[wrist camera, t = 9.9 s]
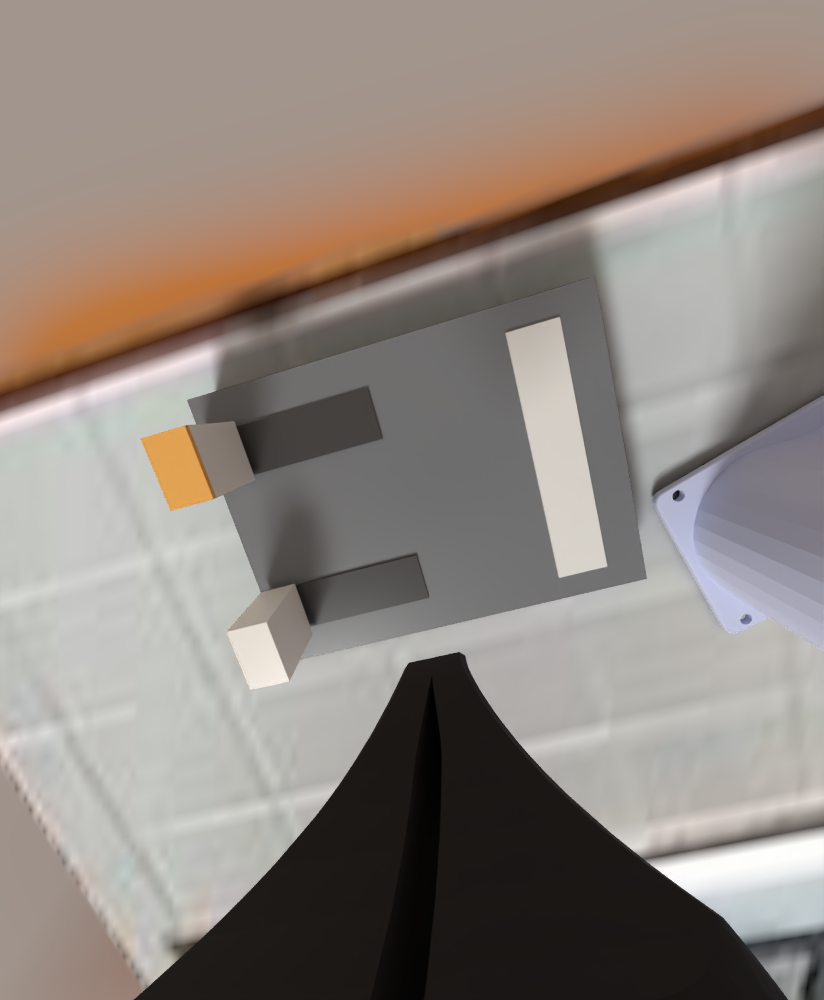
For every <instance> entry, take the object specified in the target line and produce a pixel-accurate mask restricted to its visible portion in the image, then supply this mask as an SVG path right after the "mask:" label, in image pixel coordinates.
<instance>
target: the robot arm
mask: <svg viewBox="0 0 824 1000" xmlns="http://www.w3.org/2000/svg"><path fill="white" fill-rule="evenodd" d="M677 490H679V493H680V494H679V497H678V498H677V499H674V500H673V497H672V496H673V493H674V492H675V491H677ZM652 503H653V506H654V508H655V510H656V512H657V514H658V515H659V517H660V519H661V521H662V522H663V524H664V526H665V528H666V530H667V531H668V533H669V535H670V537H671V538H672V540H673V542H674V544H675V546H676V547H677V549H678V551H679V553H680V554H681V556H682V558H683V560H684V562H685V563H686V565H687V567H688V569H689V570H690V572H691V574H692V576H693V578H694V579H695V581H696V583H697V585H698V587H699V588H700V590H701V592H702V594H703V595H704V597H705V599H706V601H707V603H708V604H709V606H710V608H711V610H712V611H713V613H714V615H715V617H716V619H717V620H718V622H719V624H720V626H721V627H722V628H723V629H724V630H726V631H727V632H729V633H731V634H736V633H739V632H741V631H743V630H745V629H747V628H749V627H751V626H753V625H755V624H757V623H759V622H761V621H763V620H765V619H767V618H770V619H772V620H773V621H775V622H776V623H778V624H780V625H781V626H783V627H784V628H786V629H788V630H789V631H791V632H792V633H794V634H796V635H797V636H799V637H800V638H802V639H804V640H805V641H807V642H808V643H810V644H812V645H813V646H815V647H816V648H818V649H819V650H821V651H823V652H824V395H823V396H821V397H819V398H817V399H816V400H814V401H812V402H811V403H809V404H807V405H805V406H804V407H802V408H800V409H799V410H797V411H795V412H793V413H792V414H790V415H788V416H787V417H785V418H783V419H781V420H780V421H778V422H776V423H774V424H773V425H771V426H769V427H768V428H766V429H764V430H762V431H761V432H759V433H757V434H756V435H754V436H752V437H750V438H749V439H747V440H745V441H744V442H742V443H740V444H738V445H737V446H735V447H733V448H732V449H730V450H728V451H726V452H725V453H723V454H721V455H720V456H718V457H716V458H714V459H713V460H711V461H709V462H708V463H706V464H704V465H702V466H701V467H699V468H697V469H695V470H694V471H692V472H690V473H689V474H687V475H685V476H683V477H682V478H680V479H678V480H677V481H675V482H673V483H671V484H670V485H668V486H666V487H665V488H663V489H661V490H659V491H658V492H657V493H656V494H655V495H654V497H653V500H652ZM745 614H746V616H745V618H744V619H742V620H740V619H741V617H742V616H743V615H745ZM134 1000H788V999H787V997H786V996H785V995H784V993H783V992H782V991H781V989H780V988H779V987H778V985H777V984H776V983H775V982H774V980H773V979H772V978H771V976H770V975H769V974H768V972H767V971H766V970H765V969H764V967H763V966H762V965H761V963H760V962H759V961H758V960H757V958H756V957H755V956H754V955H753V953H752V952H751V951H750V950H749V948H748V947H747V946H746V945H745V944H744V942H743V941H742V940H741V939H740V937H739V936H738V935H737V934H736V933H735V931H734V930H733V929H732V928H731V927H730V925H729V924H728V923H727V922H726V921H725V919H724V918H723V917H721V916H720V915H719V914H717V913H716V912H715V911H713V910H712V909H710V908H709V907H707V906H706V905H705V904H703V903H702V902H700V901H699V900H698V899H696V898H695V897H693V896H692V895H691V894H689V893H688V892H686V891H685V890H684V889H682V888H681V887H679V886H678V885H677V884H675V883H674V882H673V881H671V880H670V879H669V878H667V877H666V876H665V875H663V874H662V873H661V872H659V871H658V870H657V869H655V868H654V867H653V866H651V865H650V864H649V863H647V862H646V861H645V860H644V859H642V858H641V857H640V856H639V855H637V854H636V853H635V852H634V851H632V850H631V849H630V848H629V847H627V846H626V845H625V844H624V843H623V842H621V841H620V840H619V839H618V838H616V837H615V836H614V835H613V834H611V833H610V832H609V831H608V830H607V829H606V828H605V827H603V826H602V825H601V824H600V823H599V822H598V821H597V820H596V819H594V818H593V817H592V816H591V815H590V814H589V813H588V812H587V811H585V810H584V809H583V808H582V807H581V806H580V805H579V804H578V803H576V802H575V801H574V800H573V799H572V798H571V797H570V796H569V795H567V794H566V793H565V792H564V791H563V790H562V789H561V788H560V787H559V786H558V785H557V784H556V783H555V782H554V781H553V780H552V779H551V778H550V777H549V776H548V775H547V774H546V773H545V772H544V771H543V770H542V768H541V767H540V766H539V765H538V764H537V763H536V762H535V761H534V760H533V759H532V758H531V757H530V755H529V754H528V753H527V752H526V751H525V750H524V749H523V748H522V746H521V745H520V744H519V743H518V742H517V740H516V739H515V738H514V737H513V735H512V734H511V733H510V732H509V730H508V729H507V728H506V727H505V725H504V724H503V723H502V721H501V720H500V719H499V717H498V716H497V715H496V713H495V712H494V710H493V709H492V707H491V706H490V704H489V703H488V702H487V700H486V699H485V697H484V696H483V694H482V692H481V691H480V689H479V687H478V686H477V684H476V682H475V680H474V678H473V677H472V675H471V673H470V670H469V668H468V665H467V661H466V658H465V655H463V654H461V653H460V652H457V653H453V654H448V655H444V656H439V657H434V658H430V659H425V660H420V661H416V662H411V663H408V665H407V666H406V668H405V670H404V672H403V674H402V676H401V678H400V681H399V683H398V685H397V687H396V689H395V691H394V693H393V695H392V697H391V699H390V701H389V703H388V705H387V707H386V708H385V710H384V712H383V714H382V716H381V718H380V720H379V721H378V723H377V725H376V727H375V729H374V731H373V732H372V734H371V736H370V737H369V739H368V741H367V742H366V744H365V746H364V747H363V749H362V750H361V752H360V754H359V755H358V757H357V759H356V760H355V762H354V763H353V765H352V767H351V768H350V770H349V771H348V773H347V774H346V776H345V777H344V779H343V780H342V781H341V783H340V784H339V786H338V787H337V789H336V790H335V791H334V793H333V794H332V796H331V797H330V798H329V800H328V801H327V802H326V804H325V805H324V806H323V808H322V809H321V810H320V811H319V813H318V814H317V815H316V817H315V818H314V819H313V820H312V821H311V822H310V824H309V825H308V826H307V827H306V828H305V830H304V831H303V832H302V833H301V834H300V835H299V837H298V838H297V839H296V840H295V841H294V842H293V844H292V845H291V846H290V847H289V848H288V850H287V851H286V852H285V853H284V854H283V855H282V857H281V858H280V859H279V860H278V861H277V862H276V863H275V865H274V866H273V867H272V868H271V869H270V870H269V871H268V872H267V873H266V874H265V875H264V876H263V877H262V878H261V880H260V881H259V882H258V883H257V884H256V885H255V886H254V887H253V888H252V889H251V890H250V891H249V892H248V893H247V894H246V895H245V896H244V897H243V898H242V899H241V900H240V901H239V902H238V903H237V904H236V905H235V906H234V907H233V908H232V909H231V910H230V911H229V912H228V913H227V914H226V915H225V916H224V917H223V918H222V919H221V920H220V921H219V922H218V923H217V924H216V925H215V926H214V927H213V928H212V929H211V930H210V931H209V932H208V933H207V934H206V935H205V936H204V937H203V938H202V939H201V940H199V941H198V942H197V943H196V944H195V945H194V946H193V947H192V948H191V949H190V950H188V951H187V952H186V953H185V954H184V955H183V956H182V957H181V958H180V959H179V960H177V961H176V962H175V963H174V964H173V965H172V966H171V967H170V968H169V969H168V970H166V971H165V972H164V973H163V974H162V975H161V976H160V977H159V978H158V979H156V980H155V981H154V982H153V983H152V984H151V985H150V986H149V987H148V988H147V989H145V990H144V991H143V992H142V993H141V994H140V995H139V996H138V997H137V998H135V999H134Z"/></svg>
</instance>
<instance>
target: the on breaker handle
mask: <svg viewBox="0 0 824 1000" xmlns="http://www.w3.org/2000/svg"><path fill="white" fill-rule="evenodd" d="M227 634H228V637H229V639H230V642H231V644H232V646H233V649H234V651H235V654H236V656H237V659H238V661H239V663H240V666H241V668H242V671H243V673H244V676H245V678H246V680H247V683H248V685H249V688H250V690H253V689H258V688H262V687H266V686H271V685H275V684H279V683H284V682H288V681H290V679H291V677H292V675H293V673H294V671H295V669H296V667H297V665H298V663H299V661H300V659H301V657H302V655H303V652H304V650H305V648H306V646H307V644H308V642H309V640H310V638H311V636H312V634H313V633H312V630H311V627H310V624H309V621H308V619H307V616H306V613H305V610H304V608H303V605H302V602H301V599H300V597H299V594H298V591H297V588H296V586H295V584H292V585H288V586H284V587H280V588H276V589H272V590H268V591H264V592H261V593H260V595H259V596H258V597H257V598H256V599H255V600H254V601H253V602H252V604H251V605H250V606H249V607H248V608H247V609H246V610H245V612H244V613H243V614H242V615H241V616H240V617H239V618H238V620H237V621H236V622H235V623H234V624H233V625H232V626H231V628H230V629H229V630H228V631H227Z"/></svg>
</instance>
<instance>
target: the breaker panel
mask: <svg viewBox="0 0 824 1000" xmlns="http://www.w3.org/2000/svg"><path fill="white" fill-rule="evenodd" d="M187 401H188V404H189V406H190V409H191V411H192V414H193V417H194V419H195V422H196V424H208V423H219V422H230V421H234V422H235V425H236V428H237V430H238V433H239V436H240V439H241V441H242V444H243V447H244V450H245V452H246V455H247V458H248V460H249V463H250V466H251V469H252V471H253V474H254V477H255V481H253V482H250V483H248V484H246V485H244V486H241V487H239V488H237V489H235V490H232V491H230V492H228V493H226V494H224V497H225V500H226V503H227V505H228V508H229V510H230V513H231V516H232V518H233V521H234V523H235V526H236V529H237V531H238V534H239V536H240V539H241V542H242V544H243V547H244V550H245V552H246V555H247V557H248V560H249V563H250V565H251V568H252V570H253V573H254V576H255V578H256V581H257V583H258V586H259V589H260V591H261V592H264V591H268V590H272V589H276V588H280V587H284V586H288V585H292V584H295V586H296V588H297V591H298V594H299V597H300V599H301V602H302V605H303V608H304V610H305V613H306V616H307V619H308V621H309V624H310V627H311V630H312V633H313V634H312V636H311V638H310V640H309V642H308V644H307V646H306V648H305V650H304V652H303V655H302V657H301V659H300V660H302V659H306V658H310V657H314V656H319V655H323V654H327V653H332V652H336V651H340V650H344V649H349V648H353V647H357V646H361V645H366V644H370V643H374V642H378V641H383V640H387V639H391V638H396V637H400V636H404V635H408V634H413V633H417V632H421V631H425V630H430V629H434V628H438V627H443V626H447V625H451V624H455V623H460V622H464V621H468V620H472V619H477V618H481V617H485V616H489V615H494V614H498V613H502V612H507V611H511V610H515V609H519V608H524V607H528V606H532V605H536V604H541V603H545V602H549V601H553V600H558V599H562V598H566V597H571V596H575V595H579V594H583V593H588V592H592V591H596V590H600V589H605V588H609V587H613V586H618V585H622V584H626V583H630V582H635V581H639V580H643V579H647V577H646V571H645V565H644V559H643V554H642V548H641V542H640V536H639V530H638V524H637V518H636V512H635V507H634V501H633V495H632V489H631V483H630V477H629V471H628V466H627V460H626V454H625V448H624V442H623V436H622V430H621V425H620V419H619V413H618V407H617V401H616V395H615V389H614V383H613V378H612V372H611V366H610V360H609V354H608V348H607V342H606V337H605V331H604V325H603V319H602V313H601V307H600V301H599V296H598V290H597V284H596V278H595V276H594V277H591V278H588V279H584V280H581V281H578V282H574V283H571V284H568V285H564V286H561V287H558V288H555V289H551V290H548V291H545V292H541V293H538V294H535V295H532V296H528V297H525V298H522V299H518V300H515V301H512V302H509V303H505V304H502V305H499V306H495V307H492V308H489V309H485V310H482V311H479V312H476V313H472V314H469V315H466V316H462V317H459V318H456V319H453V320H449V321H446V322H443V323H439V324H436V325H433V326H430V327H426V328H423V329H420V330H416V331H413V332H410V333H406V334H403V335H400V336H397V337H393V338H390V339H387V340H383V341H380V342H377V343H374V344H370V345H367V346H364V347H360V348H357V349H354V350H351V351H347V352H344V353H341V354H337V355H334V356H331V357H327V358H324V359H321V360H318V361H314V362H311V363H308V364H304V365H301V366H298V367H295V368H291V369H288V370H285V371H281V372H278V373H275V374H272V375H268V376H265V377H262V378H258V379H255V380H252V381H248V382H245V383H242V384H239V385H235V386H232V387H229V388H225V389H222V390H219V391H216V392H212V393H209V394H206V395H202V396H199V397H196V398H193V399H189V400H187Z"/></svg>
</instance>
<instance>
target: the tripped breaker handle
mask: <svg viewBox="0 0 824 1000" xmlns="http://www.w3.org/2000/svg"><path fill="white" fill-rule="evenodd" d="M141 441H142V443H143V445H144V448H145V450H146V453H147V455H148V457H149V460H150V462H151V465H152V467H153V470H154V472H155V474H156V477H157V479H158V482H159V484H160V486H161V489H162V491H163V494H164V496H165V498H166V501H167V503H168V506H169V508H170V510H171V511H172V510H176V509H179V508H183V507H187V506H190V505H194V504H197V503H201V502H205V501H208V500H212V499H215V498H217V497H219V496H221V495H224V494H226V493H228V492H230V491H232V490H235V489H237V488H239V487H241V486H244V485H246V484H248V483H250V482H253V481H255V477H254V474H253V471H252V469H251V466H250V463H249V460H248V458H247V455H246V452H245V450H244V447H243V444H242V441H241V439H240V436H239V433H238V430H237V428H236V425H235V422H234V421H230V422H219V423H208V424H197V425H186V426H182V427H179V428H175V429H172V430H168V431H165V432H162V433H158V434H155V435H152V436H148V437H145V438H142V439H141Z"/></svg>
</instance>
